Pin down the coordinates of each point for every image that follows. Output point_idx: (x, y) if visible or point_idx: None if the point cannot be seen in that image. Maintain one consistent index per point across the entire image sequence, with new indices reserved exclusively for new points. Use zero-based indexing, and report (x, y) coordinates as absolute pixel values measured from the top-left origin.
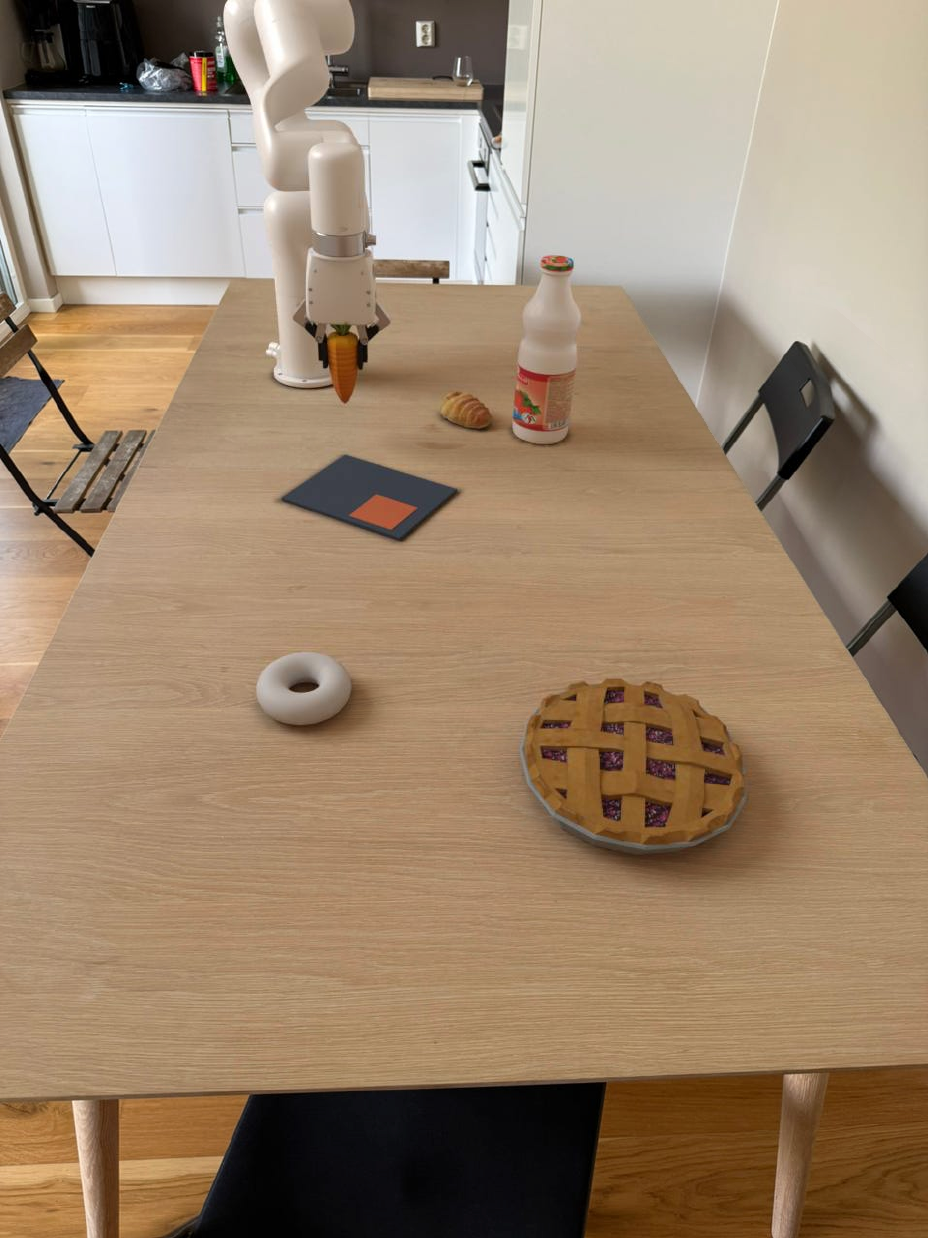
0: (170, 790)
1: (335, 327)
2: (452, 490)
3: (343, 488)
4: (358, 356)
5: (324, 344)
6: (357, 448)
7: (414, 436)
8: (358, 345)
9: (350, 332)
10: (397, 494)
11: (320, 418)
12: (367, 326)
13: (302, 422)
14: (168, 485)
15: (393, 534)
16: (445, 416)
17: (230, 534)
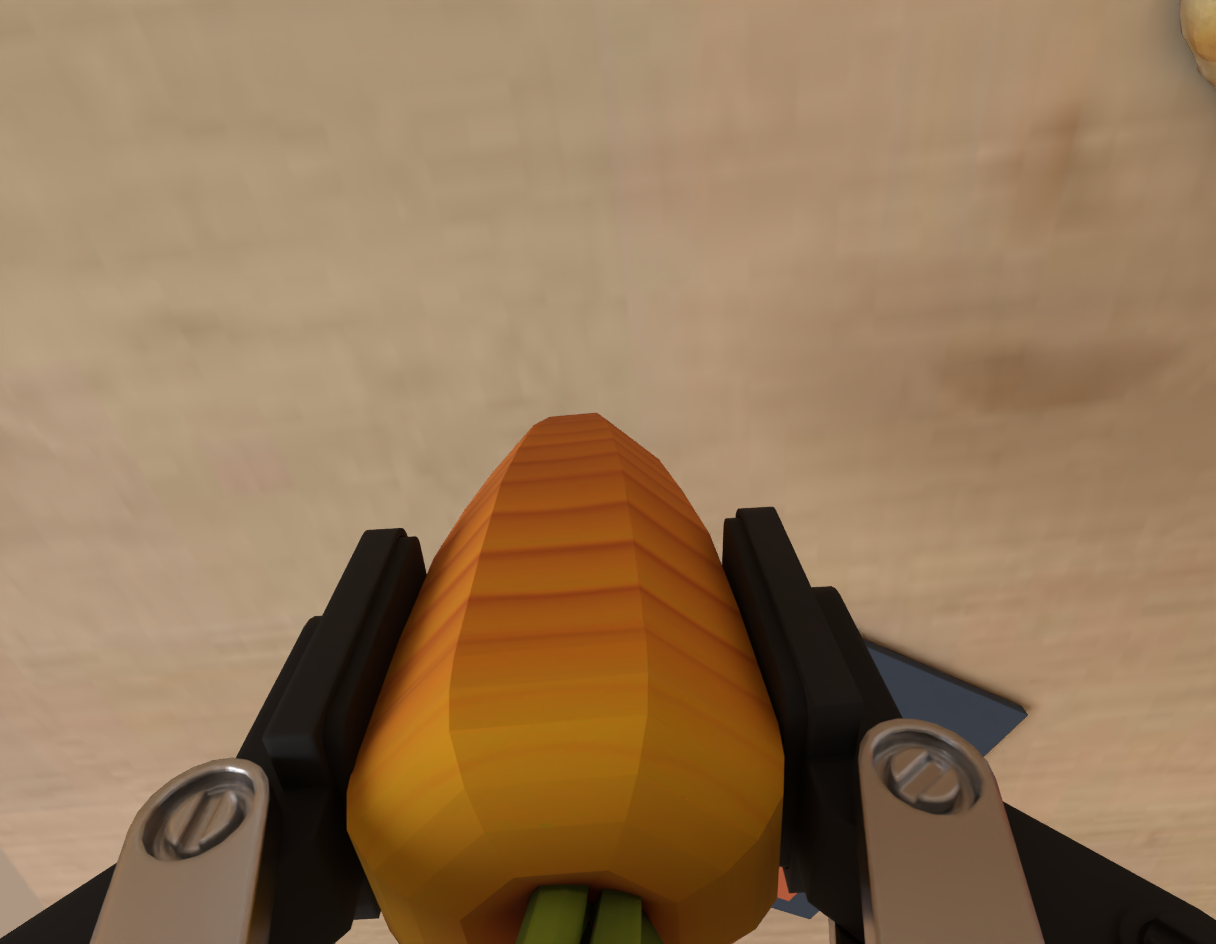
0: None
1: None
2: (1009, 725)
3: None
4: None
5: (373, 913)
6: (648, 445)
7: (937, 287)
8: (784, 863)
9: (694, 890)
10: None
11: (382, 103)
12: (1028, 915)
13: (295, 178)
14: (38, 760)
15: (793, 912)
16: (1193, 51)
17: (363, 923)
